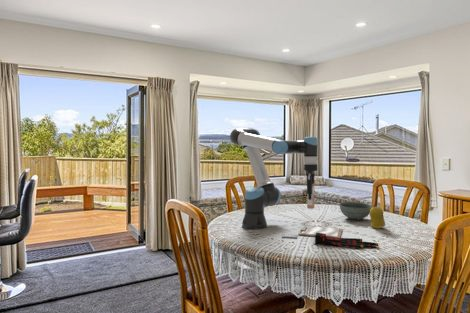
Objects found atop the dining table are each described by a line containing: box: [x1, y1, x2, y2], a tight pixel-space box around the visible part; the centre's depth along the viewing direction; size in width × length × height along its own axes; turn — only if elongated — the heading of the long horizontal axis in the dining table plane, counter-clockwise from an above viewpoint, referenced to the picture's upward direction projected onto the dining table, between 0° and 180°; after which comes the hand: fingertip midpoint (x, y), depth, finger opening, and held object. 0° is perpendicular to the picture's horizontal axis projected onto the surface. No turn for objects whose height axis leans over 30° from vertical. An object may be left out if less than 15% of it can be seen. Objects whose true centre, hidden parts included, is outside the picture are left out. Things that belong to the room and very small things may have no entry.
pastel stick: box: [306, 183, 315, 210], centre depth 196 cm, size 4×4×14 cm
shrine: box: [368, 204, 386, 230], centre depth 202 cm, size 12×8×15 cm
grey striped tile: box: [281, 233, 298, 239], centre depth 187 cm, size 8×6×1 cm
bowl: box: [338, 201, 373, 222], centre depth 227 cm, size 21×21×10 cm
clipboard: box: [297, 225, 343, 238], centre depth 194 cm, size 22×20×2 cm
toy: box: [314, 233, 380, 250], centre depth 170 cm, size 8×5×30 cm
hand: (310, 204), depth 196 cm, fingers closed on pastel stick, 4 cm apart
